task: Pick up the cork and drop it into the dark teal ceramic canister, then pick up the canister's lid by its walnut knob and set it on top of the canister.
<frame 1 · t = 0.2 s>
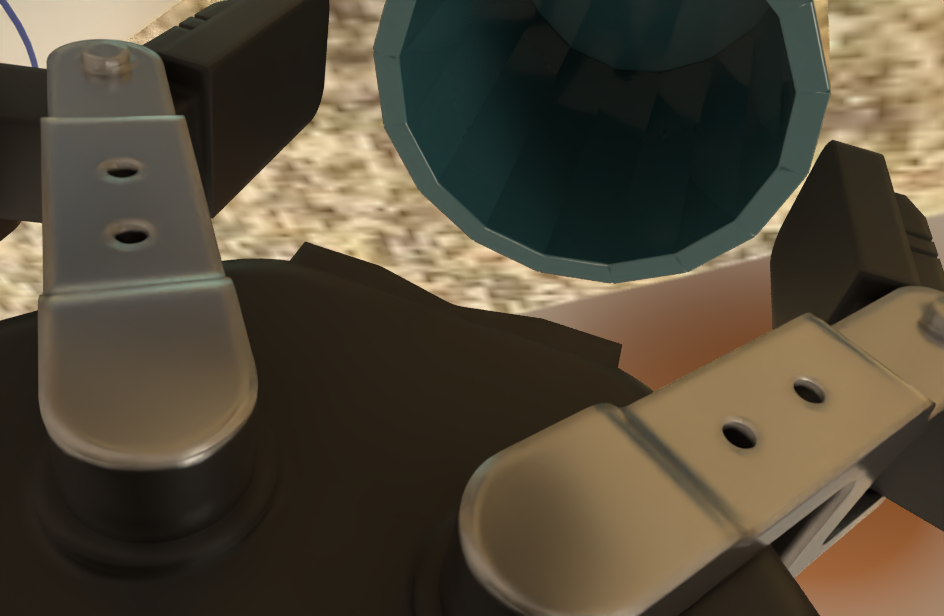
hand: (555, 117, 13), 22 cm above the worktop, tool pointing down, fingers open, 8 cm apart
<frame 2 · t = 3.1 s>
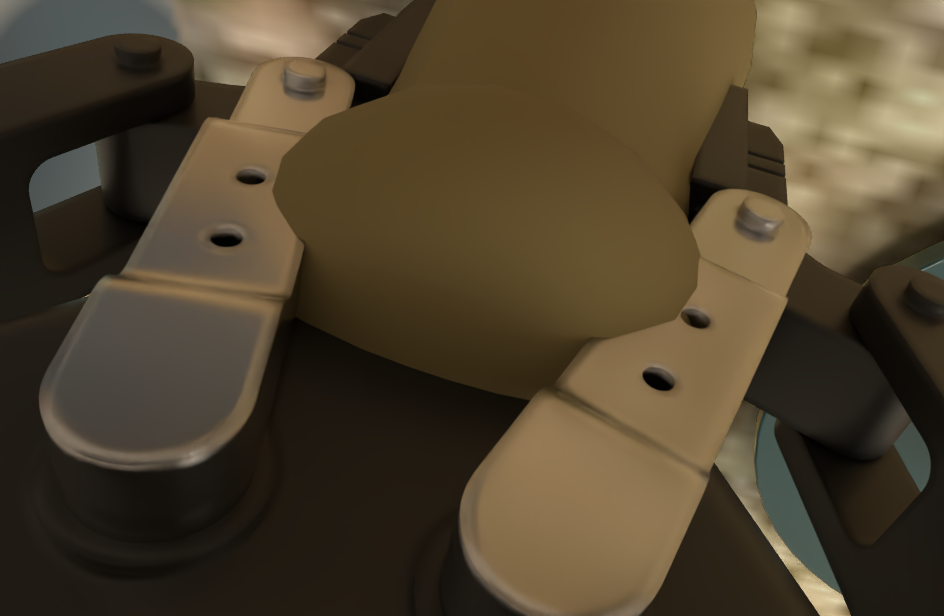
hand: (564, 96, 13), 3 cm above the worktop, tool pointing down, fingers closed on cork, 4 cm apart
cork: (592, 37, 16), on the worktop, touching gripper
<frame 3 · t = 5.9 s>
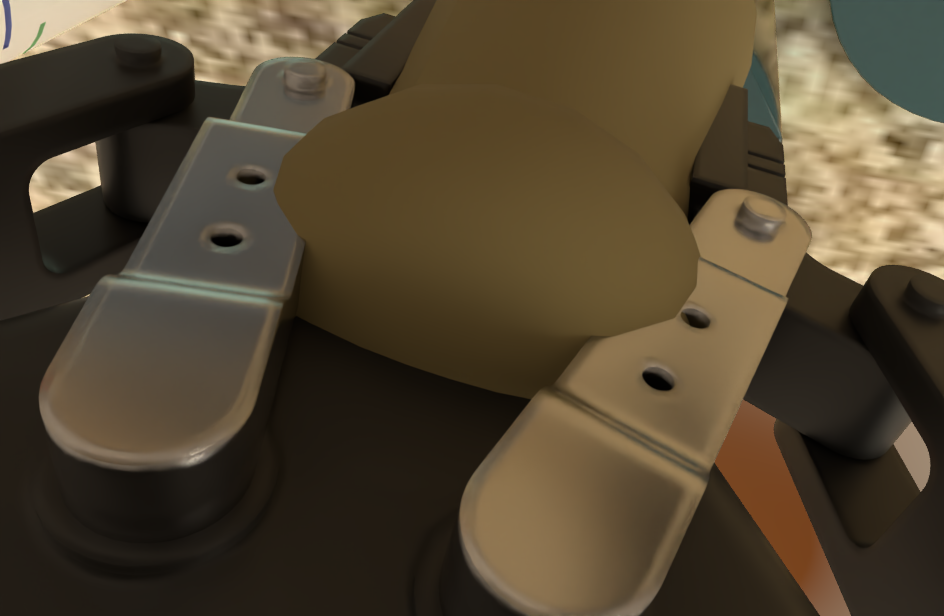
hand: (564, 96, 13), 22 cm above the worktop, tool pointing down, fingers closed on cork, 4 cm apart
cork: (592, 37, 16), point 19 cm above the worktop, touching gripper
canister: (621, 33, 34), on the worktop
when the fingers open (14 cm above the worktop, at t = 9.0 s): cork drops 10 cm, resting in canister.
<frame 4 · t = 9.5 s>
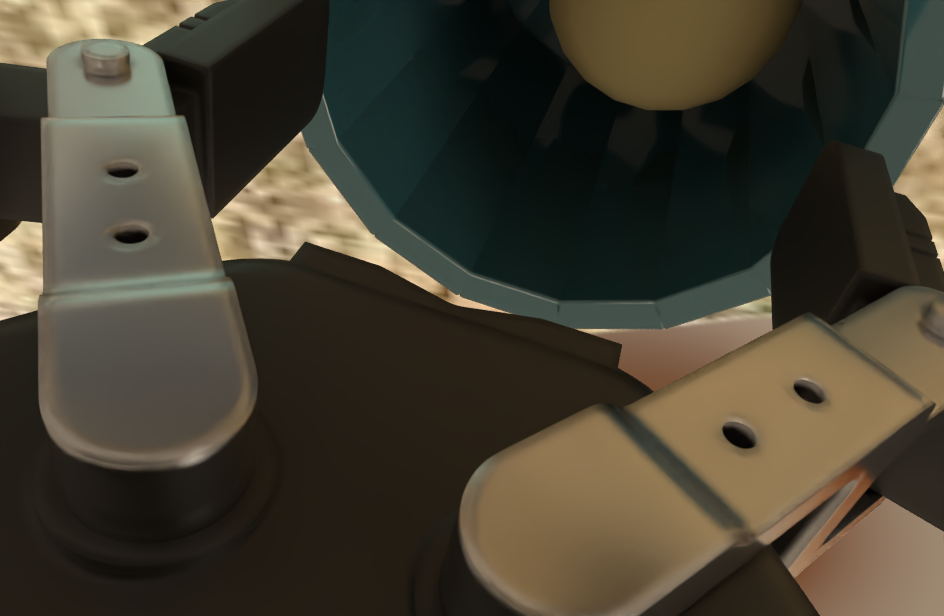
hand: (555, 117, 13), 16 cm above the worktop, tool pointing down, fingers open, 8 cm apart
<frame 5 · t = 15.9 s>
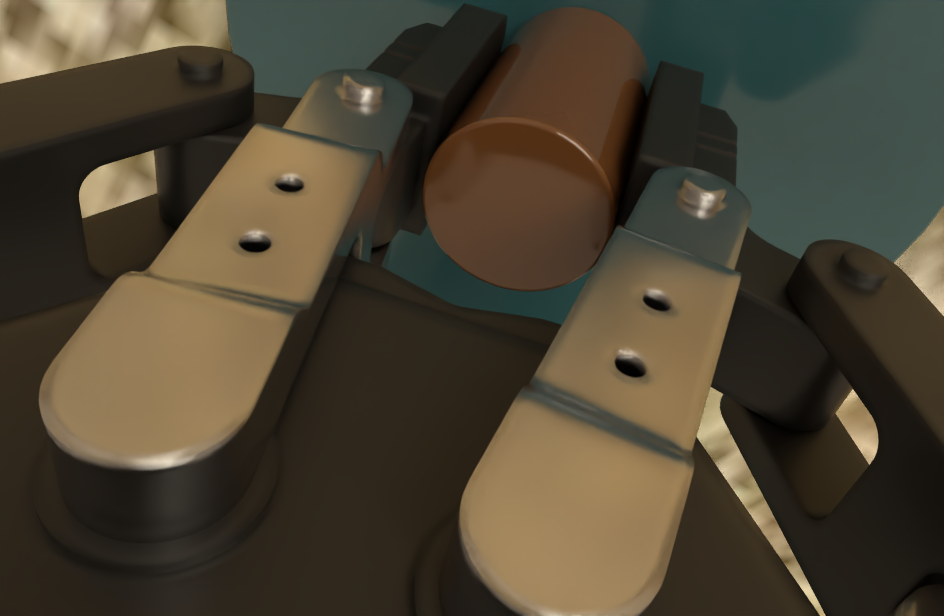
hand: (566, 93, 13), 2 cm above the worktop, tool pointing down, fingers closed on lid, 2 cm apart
lid: (578, 69, 14), point 1 cm above the worktop, touching gripper
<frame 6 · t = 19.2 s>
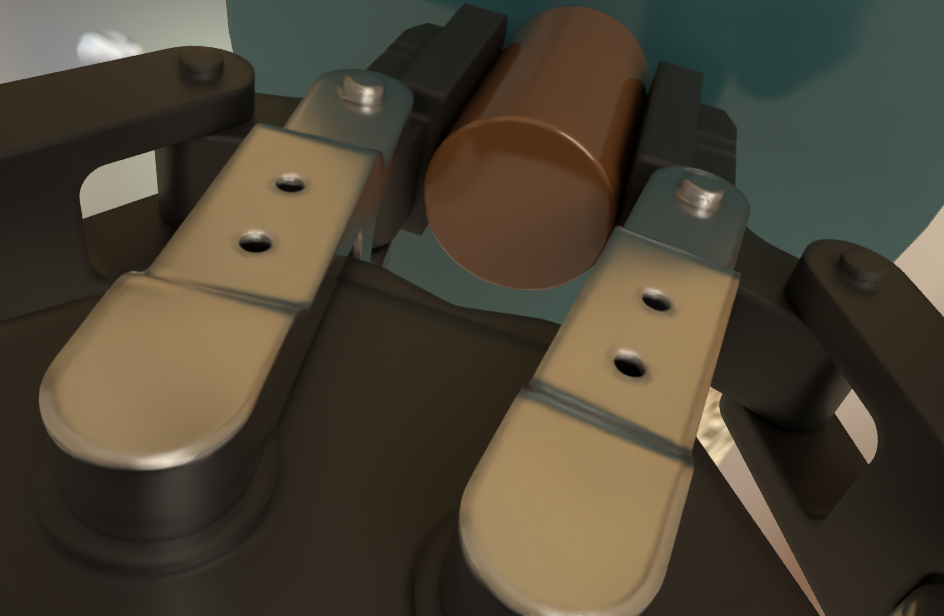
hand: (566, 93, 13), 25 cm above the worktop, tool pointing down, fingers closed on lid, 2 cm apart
lid: (578, 68, 14), point 24 cm above the worktop, touching gripper
when the fingers open (15 cm above the worktop, at t = 22.4 s): lid stays where it is, resting on canister.
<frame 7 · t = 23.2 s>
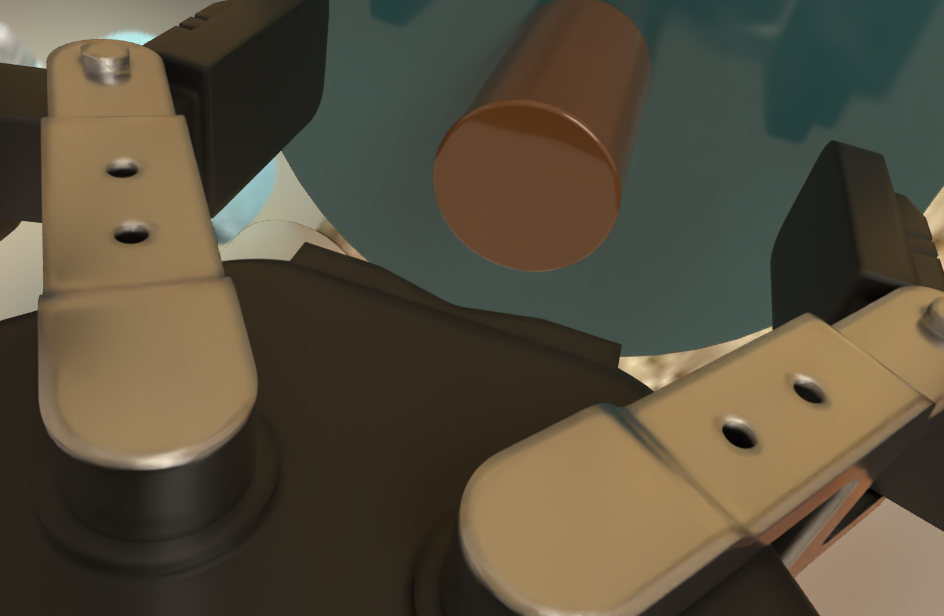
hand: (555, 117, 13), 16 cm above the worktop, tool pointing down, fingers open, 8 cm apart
lid: (583, 59, 15), point 13 cm above the worktop, touching canister
cylindrical container: (298, 281, 39), on the worktop
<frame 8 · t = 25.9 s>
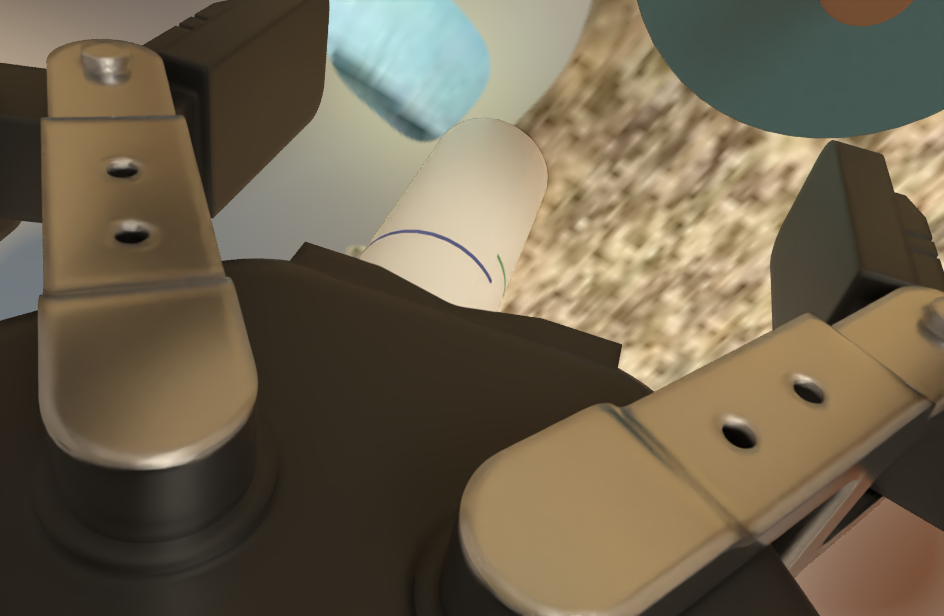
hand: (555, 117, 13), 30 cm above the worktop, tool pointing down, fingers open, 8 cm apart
cylindrical container: (490, 171, 48), on the worktop
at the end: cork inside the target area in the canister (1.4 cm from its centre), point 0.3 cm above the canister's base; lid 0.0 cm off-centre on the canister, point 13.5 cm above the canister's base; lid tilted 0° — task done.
